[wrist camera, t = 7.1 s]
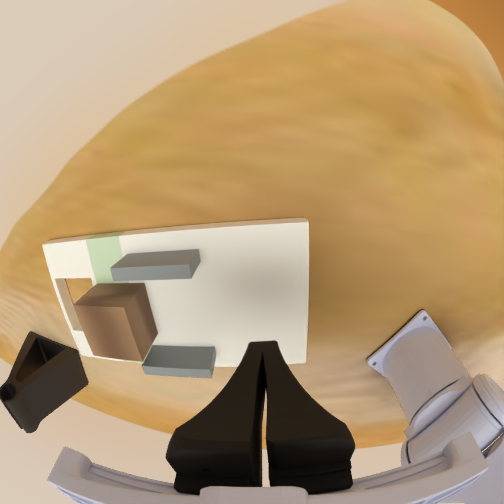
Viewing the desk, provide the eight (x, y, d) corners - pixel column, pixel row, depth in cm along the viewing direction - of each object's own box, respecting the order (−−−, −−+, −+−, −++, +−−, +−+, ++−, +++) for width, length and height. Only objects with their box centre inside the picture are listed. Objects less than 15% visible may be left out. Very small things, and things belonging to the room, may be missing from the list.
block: (144, 282, 21) (124, 307, 17) (158, 333, 23) (142, 361, 19) (97, 283, 21) (73, 305, 17) (112, 330, 23) (93, 355, 19)
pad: (126, 230, 21) (118, 235, 20) (158, 354, 25) (154, 363, 24) (94, 234, 21) (85, 239, 20) (129, 352, 26) (124, 361, 24)
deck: (305, 217, 20) (317, 233, 16) (303, 352, 25) (310, 385, 20) (51, 239, 22) (22, 255, 17) (87, 347, 26) (69, 371, 22)
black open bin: (42, 362, 28) (1, 415, 17) (30, 330, 26) (-20, 383, 15) (88, 382, 28) (51, 447, 17) (78, 350, 26) (29, 418, 15)
